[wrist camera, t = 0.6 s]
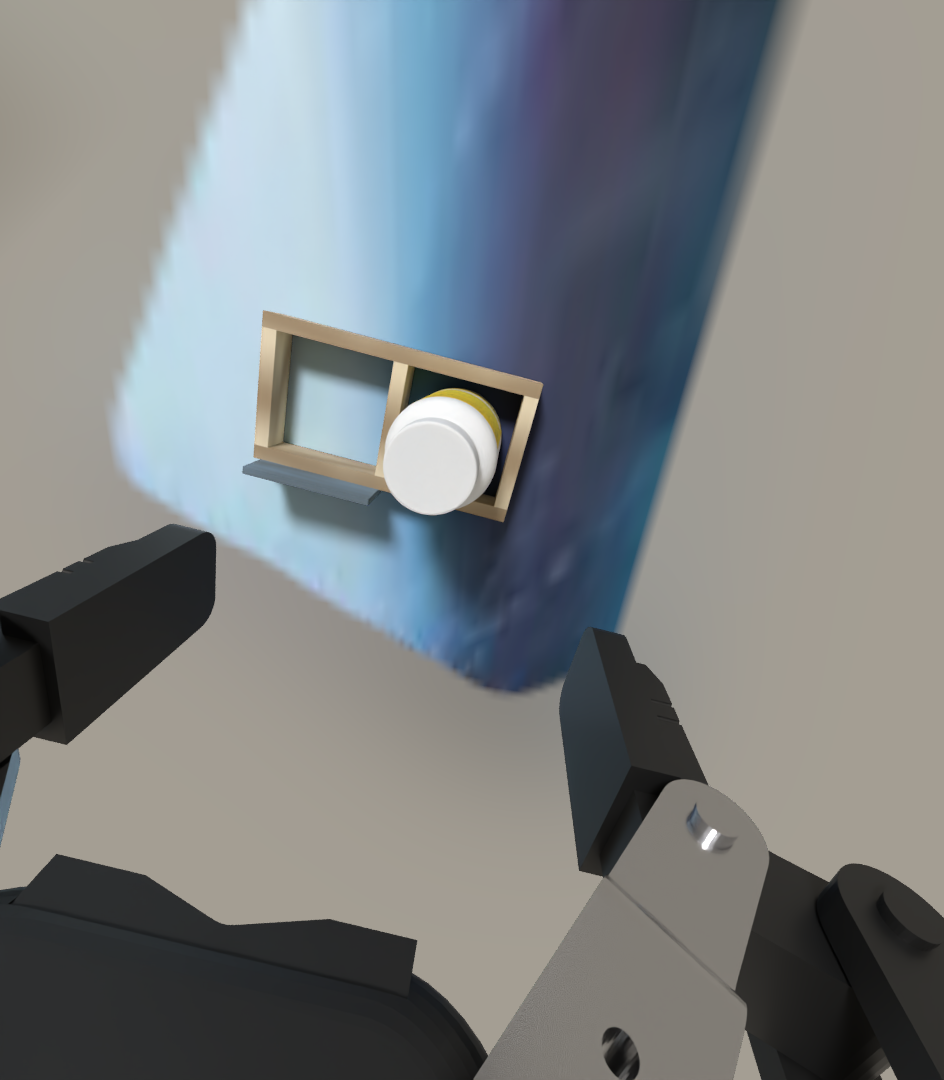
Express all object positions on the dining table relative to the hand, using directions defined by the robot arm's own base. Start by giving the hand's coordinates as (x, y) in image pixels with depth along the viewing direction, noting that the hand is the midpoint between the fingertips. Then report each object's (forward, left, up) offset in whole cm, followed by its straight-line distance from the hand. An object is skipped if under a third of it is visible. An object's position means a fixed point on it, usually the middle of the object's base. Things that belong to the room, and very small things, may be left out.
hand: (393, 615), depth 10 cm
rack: (-1, -5, -20) cm, 21 cm away
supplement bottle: (-1, -1, -20) cm, 20 cm away
